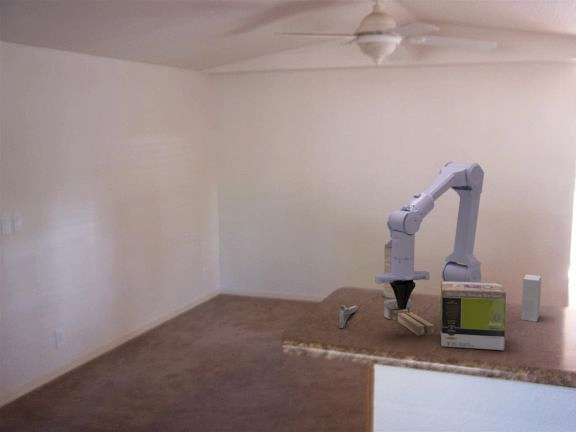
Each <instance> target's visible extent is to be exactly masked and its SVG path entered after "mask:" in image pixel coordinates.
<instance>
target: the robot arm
mask: <svg viewBox="0 0 576 432" xmlns="http://www.w3.org/2000/svg"><path fill="white" fill-rule="evenodd" d="M484 176H485V172H484V170H483V168H482V167H481V166H480V164H478V163H477V162H475V163H474V162H473V163H466V162H453V161H447V162H446V163H445V164H444V165H443V166H442V167H440V169H439V175H438V176H437V177H436V178H435V179H434V181H433V182H432V183H431V184H430V185H429V186H428V188H427V189H426V190H425V191H420V192H415V193H414V194H413V197H411V198H410V200H408V201H407V202H406V203H405V204H404V205H403V206H402V207H401V208H400V210H399V209H396V210H394V211H393V212H391V213H390V215H388V220H387V221H386V226H387V229H388V230H389V236H390V238H391V240H392V266H391V272H390V273H386V274H384V273H380V274H375V276H374V277H375V279H374V282H375V283H376V284H378V285H382V284H384V283H389V282H390V285H391V287H392V289H393V291H394V294H395V297H396V300H397V305H398V308H399V309H401V310H403V309H406V307H407V303H408V300H409V299H410V297H411V294H412V293H413V291H414V289H415V288H416V282H414V281H420V280H421V281H422V280H424V281H429V280H430V272H429V271H427V270H418V271H417V270H416V271H415V244H416V243H415V241H416V235H415V234H416V233H417V232H418V231H419V229H420V228H421V224H422V223H423V219H425V218H426V217H427V215H428V214H429V213H430V212H431V211H433V209H434V208H435V202H436V201H437V200H438V199H440V197H441V196H442V195H444V193H446V192H447V191H448V190H450V189H452V190H453V192H455V193H456V194H457V195H458V196H459V203H458V213H457V221H456V229H455V234H454V235H455V237H454V242H453V243H454V244H453V251H452V252H451V253H450V254H449V255H447V256H446V257H445V261H444V264H443V266H442V269H441V279H442V281H453V282H481V281H482V273H481V272H482V271H481V265H482V263H481V262H480V260H479V259H478V258H477V257H476V256H475V255H474V249H475V241H476V232H477V225H478V219H479V218H478V216H479V207H480V202H481V195H482V192H483V185H484ZM439 314H440V316H441V312H440V313H439Z"/></svg>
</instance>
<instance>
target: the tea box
mask: <svg viewBox="0 0 576 432" xmlns="http://www.w3.org/2000/svg"><path fill="white" fill-rule="evenodd" d="M506 294H507V292H506V291H505V289H504V287H503V285H502V283H501V282H500V283H499V282H481V281H480V282H453V281H443V280H441V282H440V313H441V315H440V320H439V321H440V322H439V323H440V327H439V328H440V342H441V343H440V344H441V347H446V348H447V347H449V348H462V349H463V348H465V349H479V350H491V351H492V350H496V351H504V350H505V344H506V343H505V340H506V339H505V337H506V309H507V308H506V307H507V306H506V305H507V300H506V299H507V295H506Z"/></svg>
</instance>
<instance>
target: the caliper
mask: <svg viewBox="0 0 576 432" xmlns="http://www.w3.org/2000/svg"><path fill="white" fill-rule="evenodd" d="M358 310H359V305H353V306H350V307H346V305H340V310H339V319H338V320H339V327H338V328H339V329H344V328H345V327H346V320H347V319H348V318H349V315H351V314H353V313H355V312H357V311H358Z"/></svg>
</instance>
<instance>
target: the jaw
mask: <svg viewBox="0 0 576 432" xmlns="http://www.w3.org/2000/svg"><path fill="white" fill-rule="evenodd" d="M395 321H396V322H398V323H399V324H400V325H402V326H403V327H405V328H406V329H407V330H409V331H410V332H412V333H413V334H415V335H416V336H424V335H425V333H424V326H423V325H422V324H420V323H419V322H417V321H415V320H414V319H412V318H411V317H409V316H408V315H406V314H404V313H402V312H401V311H397V312H396V320H395Z"/></svg>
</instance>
